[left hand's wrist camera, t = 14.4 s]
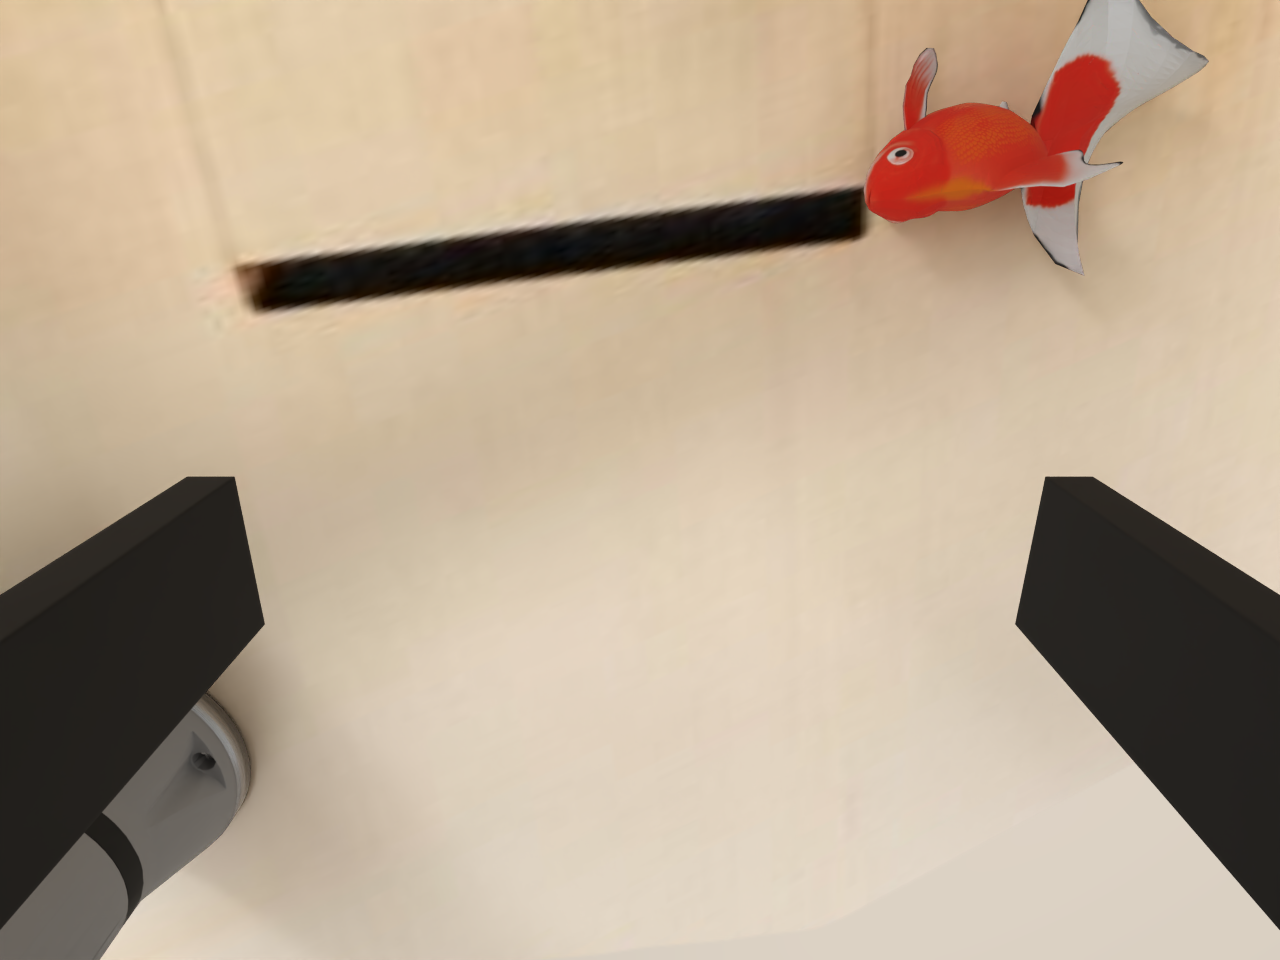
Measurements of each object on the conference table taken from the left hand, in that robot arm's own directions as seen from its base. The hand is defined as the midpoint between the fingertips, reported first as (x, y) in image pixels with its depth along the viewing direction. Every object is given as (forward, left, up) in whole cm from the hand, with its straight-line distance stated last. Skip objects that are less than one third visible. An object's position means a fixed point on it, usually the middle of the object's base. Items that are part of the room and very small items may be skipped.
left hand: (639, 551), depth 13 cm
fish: (+15, -11, -29) cm, 34 cm away
